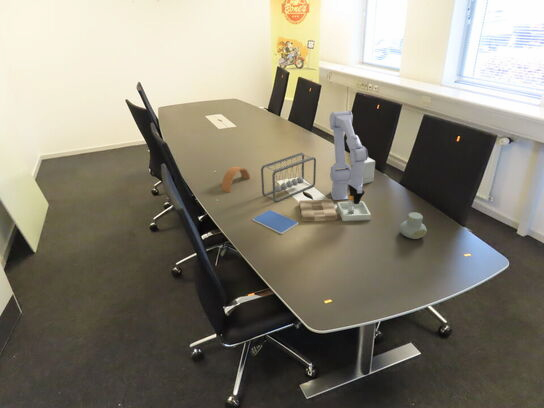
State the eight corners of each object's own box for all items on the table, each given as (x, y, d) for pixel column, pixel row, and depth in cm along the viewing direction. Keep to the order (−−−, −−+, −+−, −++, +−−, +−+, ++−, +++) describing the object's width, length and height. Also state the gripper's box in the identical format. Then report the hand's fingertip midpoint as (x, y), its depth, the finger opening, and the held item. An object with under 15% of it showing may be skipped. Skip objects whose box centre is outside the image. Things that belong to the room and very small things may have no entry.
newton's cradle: (274, 203, 184) (273, 172, 175) (261, 196, 191) (260, 166, 182) (315, 186, 200) (316, 156, 191) (302, 180, 207) (303, 151, 198)
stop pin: (346, 210, 174) (347, 194, 170) (354, 210, 174) (356, 193, 170) (347, 215, 171) (349, 198, 166) (356, 214, 171) (358, 198, 166)
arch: (221, 190, 199) (219, 174, 194) (242, 177, 214) (241, 161, 209) (230, 192, 196) (228, 176, 191) (250, 178, 211) (249, 163, 206)
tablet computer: (251, 221, 171) (251, 218, 170) (269, 210, 178) (269, 208, 178) (281, 235, 159) (281, 233, 158) (299, 224, 167) (299, 222, 166)
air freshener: (406, 242, 151) (410, 222, 146) (395, 232, 158) (398, 212, 153) (428, 237, 153) (433, 218, 148) (416, 227, 160) (420, 208, 155)
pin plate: (299, 204, 182) (299, 200, 180) (330, 203, 182) (330, 199, 181) (302, 221, 168) (303, 217, 166) (336, 219, 168) (337, 215, 167)
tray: (337, 207, 178) (337, 202, 177) (363, 206, 178) (363, 201, 177) (342, 221, 167) (343, 215, 165) (370, 220, 167) (370, 214, 165)
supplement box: (373, 181, 202) (376, 161, 196) (362, 184, 200) (364, 163, 194) (366, 176, 208) (368, 156, 202) (355, 179, 206) (357, 158, 200)
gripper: (344, 167, 168) (342, 193, 175) (351, 181, 156) (349, 207, 162) (359, 167, 168) (357, 192, 175) (367, 180, 156) (364, 207, 163)
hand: (354, 199), depth 169 cm, fingers open, 7 cm apart
